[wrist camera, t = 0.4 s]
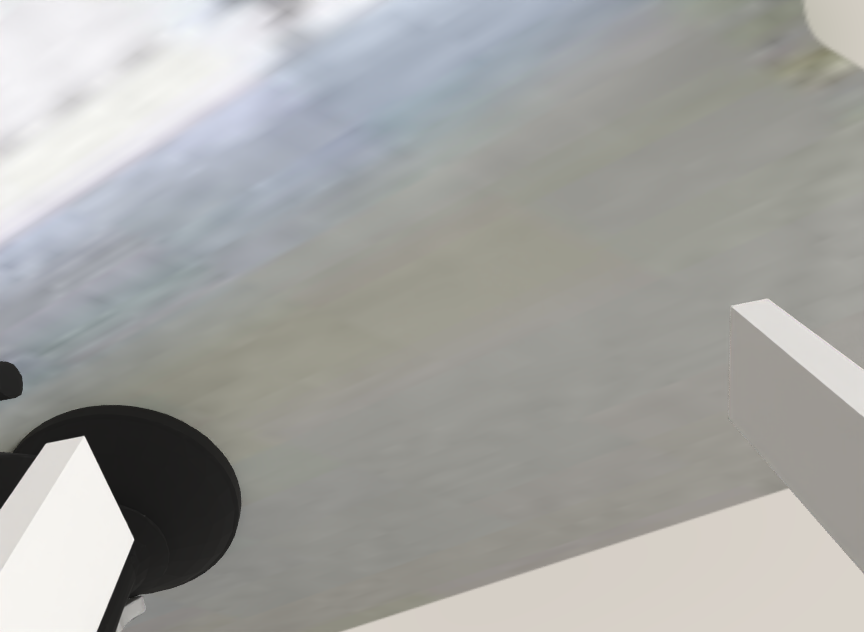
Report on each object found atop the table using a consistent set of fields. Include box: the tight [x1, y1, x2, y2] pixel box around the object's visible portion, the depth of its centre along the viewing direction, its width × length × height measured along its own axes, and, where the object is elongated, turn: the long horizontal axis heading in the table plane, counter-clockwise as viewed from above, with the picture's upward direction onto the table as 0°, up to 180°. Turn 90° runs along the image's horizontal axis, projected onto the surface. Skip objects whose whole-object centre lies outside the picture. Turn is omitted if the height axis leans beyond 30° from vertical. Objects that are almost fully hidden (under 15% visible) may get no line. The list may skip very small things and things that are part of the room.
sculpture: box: [0, 361, 241, 632], centre depth 33 cm, size 15×24×25 cm, turn 15°
